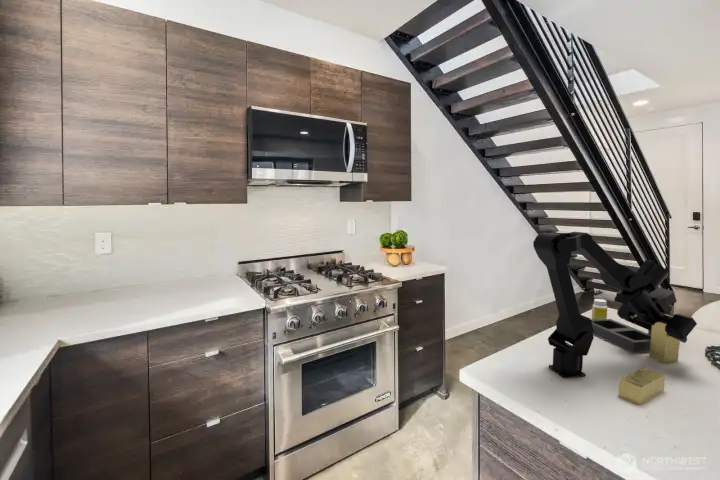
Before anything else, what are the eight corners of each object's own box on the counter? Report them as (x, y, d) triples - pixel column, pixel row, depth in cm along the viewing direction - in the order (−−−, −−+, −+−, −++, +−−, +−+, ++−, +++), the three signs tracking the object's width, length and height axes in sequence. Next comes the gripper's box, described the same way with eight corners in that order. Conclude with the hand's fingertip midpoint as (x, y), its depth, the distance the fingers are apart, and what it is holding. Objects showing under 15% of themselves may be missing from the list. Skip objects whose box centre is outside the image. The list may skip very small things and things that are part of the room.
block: (639, 406, 82) (641, 387, 82) (618, 396, 86) (619, 379, 86) (663, 391, 88) (665, 374, 88) (642, 383, 92) (643, 367, 92)
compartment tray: (633, 353, 109) (634, 342, 109) (583, 330, 129) (584, 320, 129) (663, 351, 111) (664, 340, 110) (609, 328, 130) (610, 318, 130)
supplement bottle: (609, 323, 135) (610, 302, 134) (596, 323, 135) (598, 302, 134) (601, 319, 140) (602, 298, 139) (588, 319, 140) (590, 298, 139)
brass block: (664, 363, 102) (667, 321, 101) (646, 355, 108) (649, 315, 106) (681, 362, 103) (684, 320, 102) (662, 354, 109) (665, 314, 107)
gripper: (694, 288, 93) (723, 325, 96) (627, 274, 111) (653, 305, 115) (667, 320, 92) (697, 357, 96) (604, 300, 110) (631, 332, 114)
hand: (668, 335), depth 105 cm, fingers open, 9 cm apart
